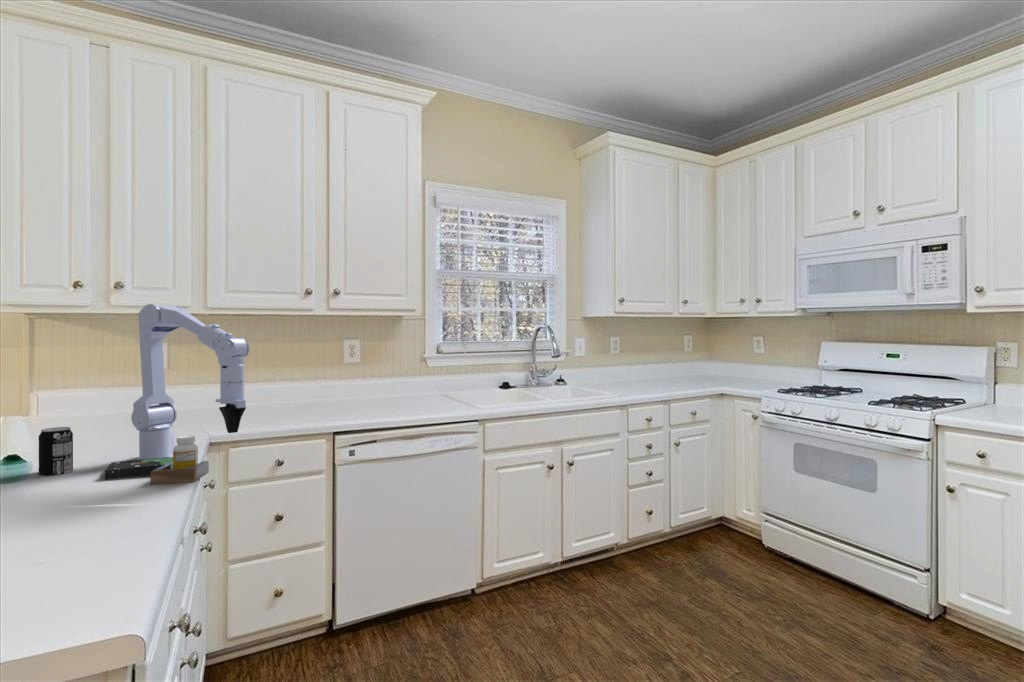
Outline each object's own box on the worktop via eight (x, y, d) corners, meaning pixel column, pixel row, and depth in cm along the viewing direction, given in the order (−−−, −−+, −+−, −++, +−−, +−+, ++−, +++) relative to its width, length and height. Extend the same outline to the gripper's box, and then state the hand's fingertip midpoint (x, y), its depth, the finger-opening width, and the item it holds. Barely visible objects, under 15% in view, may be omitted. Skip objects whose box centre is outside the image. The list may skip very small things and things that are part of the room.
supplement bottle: (179, 472, 137) (180, 435, 137) (201, 472, 138) (202, 434, 138) (168, 477, 132) (168, 438, 132) (191, 477, 132) (191, 438, 132)
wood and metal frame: (168, 474, 135) (168, 462, 135) (208, 472, 137) (208, 460, 137) (150, 484, 126) (150, 471, 126) (194, 482, 128) (194, 469, 128)
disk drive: (104, 482, 129) (176, 473, 136) (104, 470, 129) (176, 462, 136) (110, 472, 138) (178, 465, 145) (110, 462, 138) (178, 454, 145)
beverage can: (45, 474, 136) (44, 427, 136) (76, 471, 138) (76, 425, 138) (33, 480, 130) (33, 431, 130) (67, 477, 132) (67, 429, 132)
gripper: (208, 381, 145) (208, 430, 145) (224, 384, 135) (224, 437, 135) (235, 380, 150) (235, 427, 150) (253, 383, 140) (254, 434, 140)
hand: (232, 432), depth 143 cm, fingers closed
